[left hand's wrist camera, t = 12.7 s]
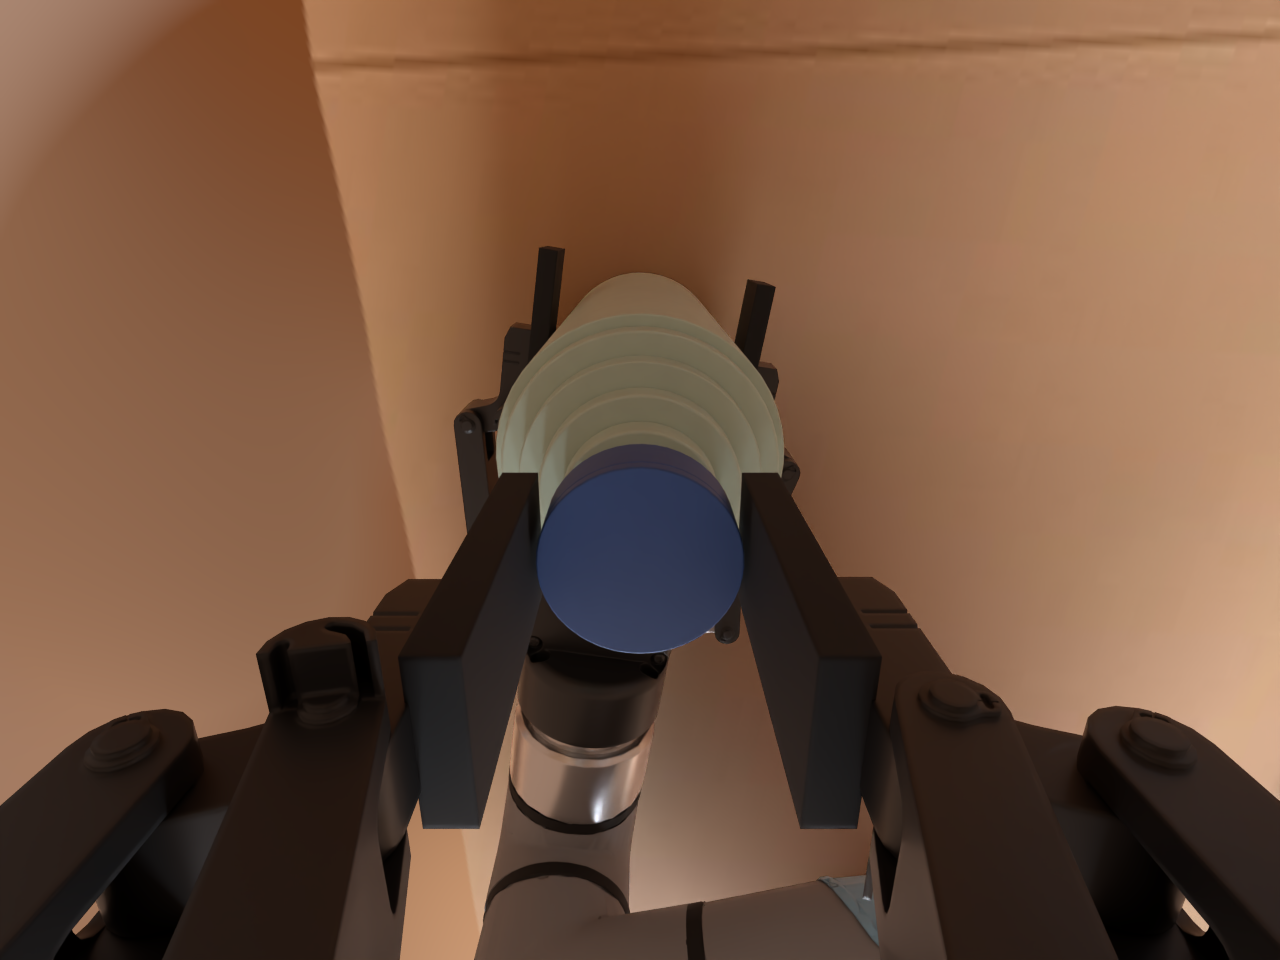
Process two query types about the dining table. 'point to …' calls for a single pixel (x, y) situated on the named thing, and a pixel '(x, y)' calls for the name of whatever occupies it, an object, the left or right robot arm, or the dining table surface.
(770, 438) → the bottle
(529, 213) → the dining table surface
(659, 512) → the cap
